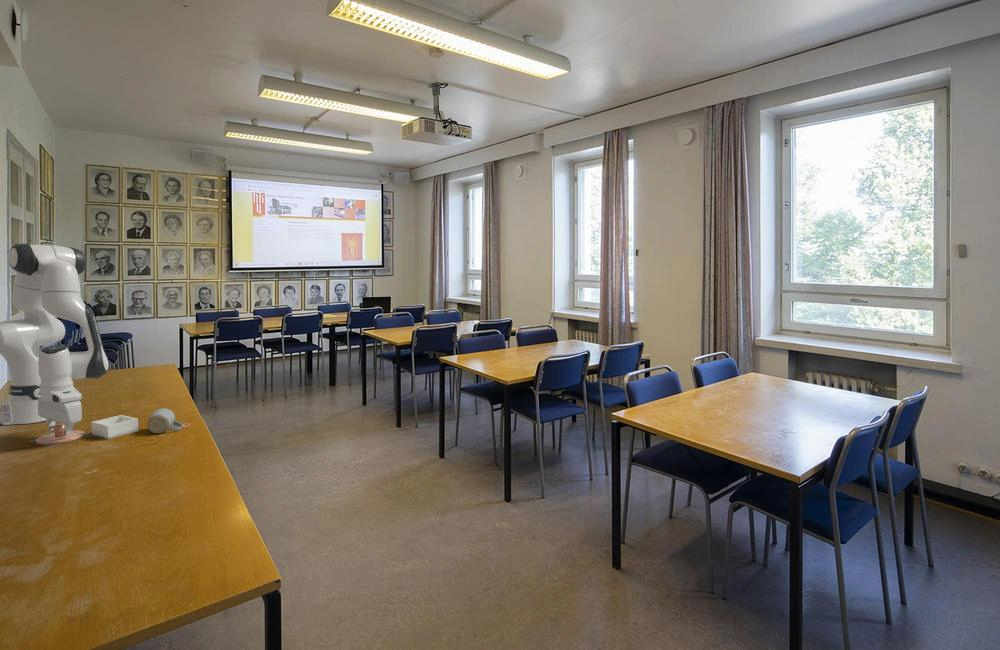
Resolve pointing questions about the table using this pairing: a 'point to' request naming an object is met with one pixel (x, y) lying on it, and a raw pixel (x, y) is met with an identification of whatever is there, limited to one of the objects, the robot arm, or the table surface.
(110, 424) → the dish
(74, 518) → the table surface
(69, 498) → the table surface
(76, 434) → the lid
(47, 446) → the mat
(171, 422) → the ceramic mug
